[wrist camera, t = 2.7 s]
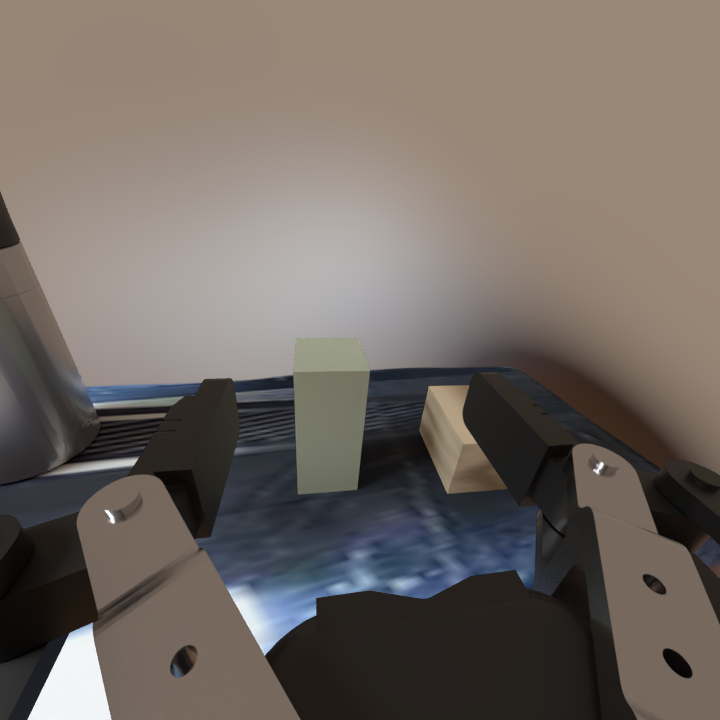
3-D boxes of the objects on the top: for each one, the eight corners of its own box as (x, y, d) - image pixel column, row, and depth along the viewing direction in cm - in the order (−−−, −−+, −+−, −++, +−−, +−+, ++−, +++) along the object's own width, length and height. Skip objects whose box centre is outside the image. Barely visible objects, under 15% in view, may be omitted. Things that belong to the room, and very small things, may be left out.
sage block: (298, 494, 25) (293, 372, 20) (299, 449, 30) (295, 338, 24) (357, 489, 26) (369, 370, 20) (350, 446, 31) (358, 338, 25)
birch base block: (446, 494, 27) (463, 444, 24) (419, 431, 34) (428, 386, 31) (529, 488, 28) (554, 439, 25) (486, 428, 35) (501, 384, 32)
